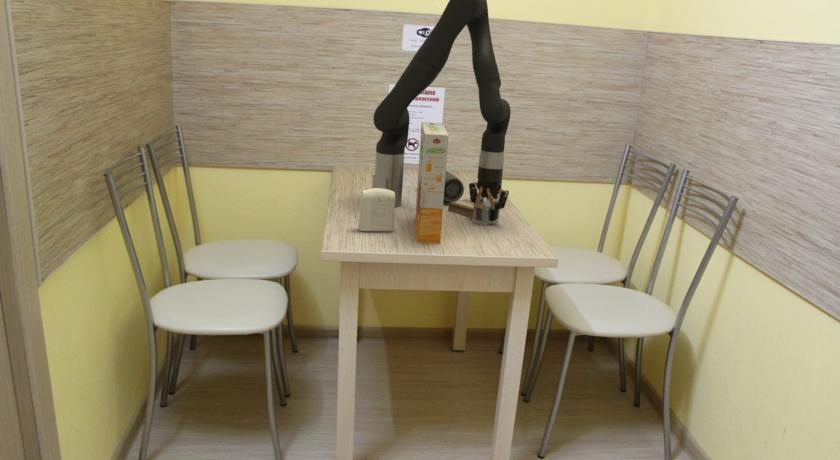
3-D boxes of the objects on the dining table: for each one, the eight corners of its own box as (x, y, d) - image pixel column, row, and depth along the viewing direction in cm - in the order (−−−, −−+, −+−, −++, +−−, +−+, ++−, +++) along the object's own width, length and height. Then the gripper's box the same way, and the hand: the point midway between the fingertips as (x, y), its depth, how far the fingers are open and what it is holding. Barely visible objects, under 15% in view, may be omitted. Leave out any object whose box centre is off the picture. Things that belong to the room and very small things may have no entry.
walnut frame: (474, 218, 214) (475, 209, 213) (448, 210, 221) (448, 202, 220) (495, 212, 222) (495, 204, 221) (468, 205, 229) (469, 197, 228)
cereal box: (415, 219, 208) (421, 122, 200) (435, 220, 209) (442, 123, 200) (417, 241, 187) (425, 134, 178) (440, 243, 187) (448, 135, 178)
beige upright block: (392, 227, 198) (394, 186, 194) (395, 232, 194) (397, 190, 190) (357, 228, 195) (359, 186, 192) (359, 232, 191) (361, 190, 188)
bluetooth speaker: (464, 205, 229) (466, 176, 226) (438, 206, 226) (441, 176, 223) (439, 189, 249) (441, 162, 246) (416, 189, 246) (417, 162, 243)
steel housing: (485, 225, 206) (486, 206, 205) (472, 221, 210) (473, 203, 208) (498, 221, 212) (500, 203, 210) (485, 218, 215) (487, 199, 213)
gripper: (464, 162, 207) (460, 215, 212) (503, 171, 198) (497, 226, 203) (479, 159, 213) (474, 211, 217) (517, 168, 204) (511, 222, 209)
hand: (485, 218), depth 210 cm, fingers closed on steel housing, 5 cm apart
